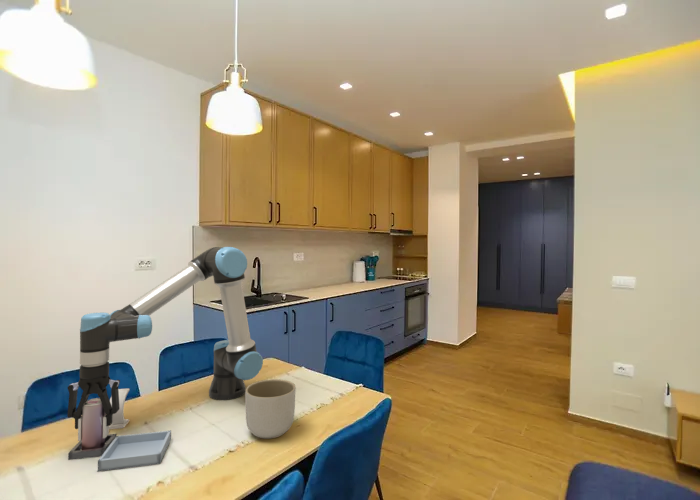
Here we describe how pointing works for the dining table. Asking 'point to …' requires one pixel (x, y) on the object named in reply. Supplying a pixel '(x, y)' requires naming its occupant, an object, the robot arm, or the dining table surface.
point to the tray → (135, 450)
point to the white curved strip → (119, 411)
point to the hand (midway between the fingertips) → (93, 436)
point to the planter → (270, 407)
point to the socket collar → (79, 454)
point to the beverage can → (92, 424)
